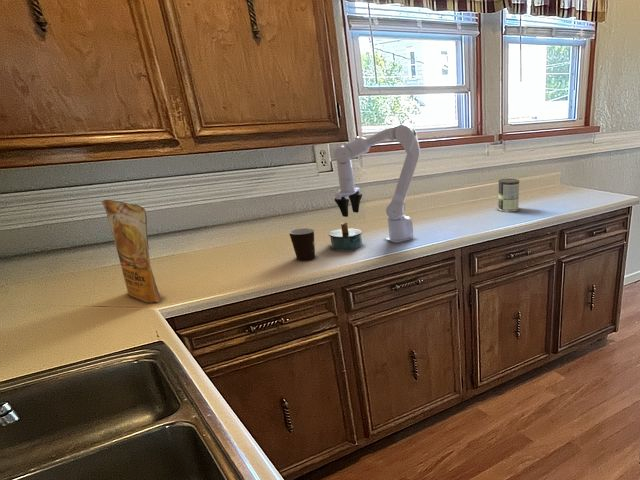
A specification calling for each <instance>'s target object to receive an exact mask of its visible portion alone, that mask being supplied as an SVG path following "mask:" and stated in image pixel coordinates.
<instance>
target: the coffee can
mask: <svg viewBox="0 0 640 480" xmlns="http://www.w3.org/2000/svg"><path fill="white" fill-rule="evenodd" d="M519 195H520V180H519V179H517V178H501V179H498V203H497V204H498V206H497V209H498V211H500V212H506V213H507V212H509V213H512V212H513V213H514V212H516V211H519Z"/></svg>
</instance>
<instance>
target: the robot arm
mask: <svg viewBox="0 0 640 480" xmlns="http://www.w3.org/2000/svg"><path fill="white" fill-rule="evenodd" d="M387 140H389V141H397V142H398V143H399V144H400V145H401V146H402V147H403V149H404V151H405V153H406V155H405V159H404V162H403V164H402V168H401V172H400V174H399V178H398V180H397V181H398V182H397V184H396V187H395V191H394V194H393V195H392V199H391V201H390V203H389V204H387V207H386V209H385V213H386V215H387V228H388V237H386V238H385V240H388V241H390V242H393V243H400V242H405V241H409V240H410V241H411V240H414V239H415V237H414V225H413V220H412V218H411V217H410V216H406V214H405V213H404V212H405V211H406V200H407V195H408V191H409V189H410V186H411V183H412V180H413V177H414V173H415V170H416V167H417V164H418V161H419V158H420V155H421V147H420V144H419V143H420V142H419V138H418V133H417V131H416V129H415V128H414V126H413V125H412V124H411V123H409V122H403V123H401V124H397V125H393V126H390V127H387V128H385V129H383V130H381V131H379V132H377V133H375V134H372V135H371V136H369V137H367V138H366V137H364V136H356V137H354V139H353V140H351V141H349V142H347V141H346V142H343V145H340V146H338V147H336V148H335V149H334V152H333V157H334V159H335V160H336V166H337V167H336V168H337V169H336V170H337V177H338V183H339V189H338V190H337V193H335V194H334V196H335V197H334V202H335V204H336V205H337V206H338V208H339V210H340V213H341V215H342V217H344V218H347V217H349V203H350V204H351V209H352V210H351V211H352V212H353V213H357V214H358V213H359V210H360V204H361V200H362V198H363V194H362V193H361V187H356V185H355V178H354V177H355V176H354V171H353V170H354V169H353V162H352V159H356V158H359V157H360V156H362V155H365V154H367V153H369V151H370V148H371V147H372V146H376V145H377V144H380V143H382V142H384V141H387ZM346 197H348V198H346Z"/></svg>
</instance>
